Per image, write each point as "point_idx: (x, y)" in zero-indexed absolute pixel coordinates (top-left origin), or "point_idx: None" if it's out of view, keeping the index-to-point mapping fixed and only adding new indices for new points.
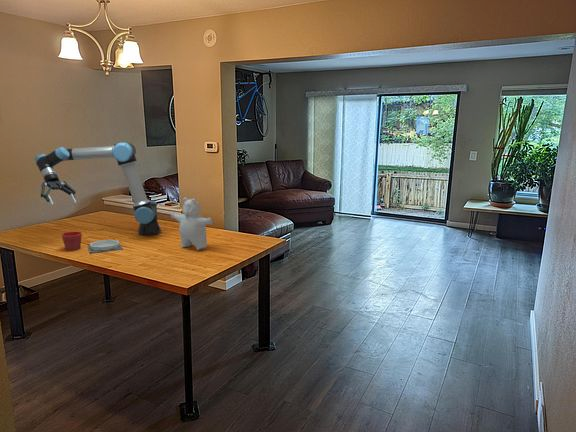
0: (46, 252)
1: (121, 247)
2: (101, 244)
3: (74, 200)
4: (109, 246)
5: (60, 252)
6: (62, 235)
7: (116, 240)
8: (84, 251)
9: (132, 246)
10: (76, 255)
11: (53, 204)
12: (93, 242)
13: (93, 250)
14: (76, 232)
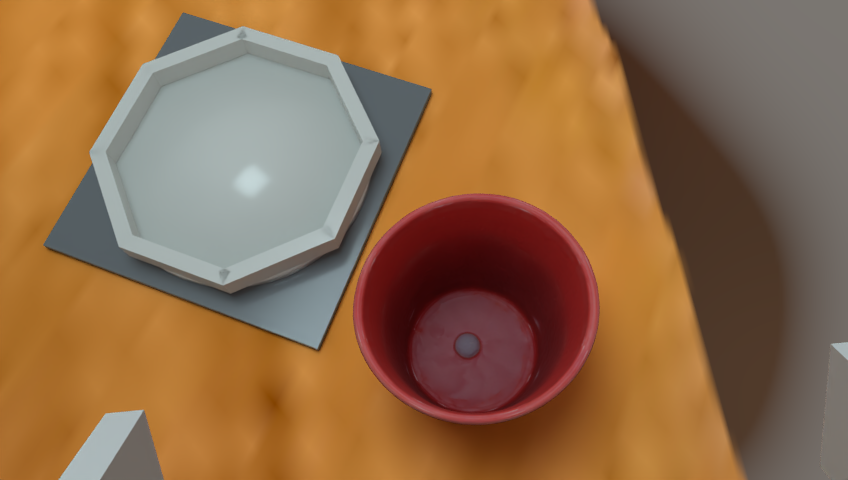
0: (721, 430)
1: (167, 49)
2: (235, 218)
3: (116, 450)
4: (266, 35)
5: (612, 321)
6: (597, 296)
7: (97, 159)
8: (434, 189)
9: (77, 39)
10: (539, 125)
11: (830, 360)
12: (285, 254)
13: (376, 131)
14: (383, 368)
